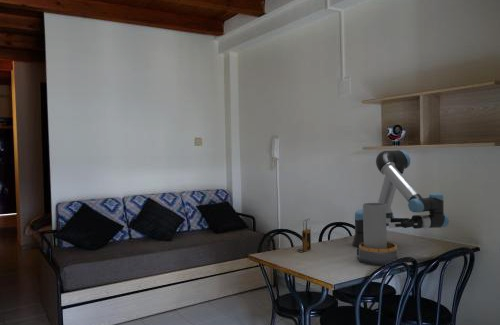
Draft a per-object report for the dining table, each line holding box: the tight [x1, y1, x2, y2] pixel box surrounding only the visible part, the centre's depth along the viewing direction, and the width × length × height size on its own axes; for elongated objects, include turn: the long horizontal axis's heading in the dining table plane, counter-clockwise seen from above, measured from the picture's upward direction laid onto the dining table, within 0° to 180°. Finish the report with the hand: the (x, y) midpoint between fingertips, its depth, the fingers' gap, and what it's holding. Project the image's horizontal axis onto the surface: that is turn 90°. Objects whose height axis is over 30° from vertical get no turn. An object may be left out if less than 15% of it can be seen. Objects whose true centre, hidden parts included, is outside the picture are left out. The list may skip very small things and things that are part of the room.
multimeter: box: [296, 218, 312, 254], centre depth 278 cm, size 15×10×20 cm
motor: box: [356, 241, 399, 267], centre depth 248 cm, size 24×21×9 cm
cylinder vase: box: [362, 202, 388, 249], centre depth 247 cm, size 12×12×25 cm
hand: (384, 223), depth 247 cm, fingers open, 13 cm apart
